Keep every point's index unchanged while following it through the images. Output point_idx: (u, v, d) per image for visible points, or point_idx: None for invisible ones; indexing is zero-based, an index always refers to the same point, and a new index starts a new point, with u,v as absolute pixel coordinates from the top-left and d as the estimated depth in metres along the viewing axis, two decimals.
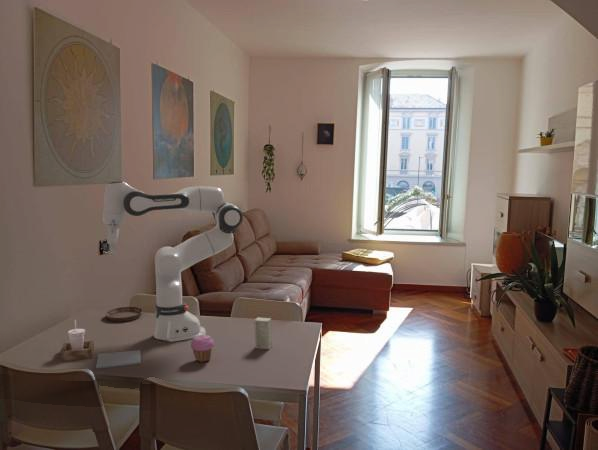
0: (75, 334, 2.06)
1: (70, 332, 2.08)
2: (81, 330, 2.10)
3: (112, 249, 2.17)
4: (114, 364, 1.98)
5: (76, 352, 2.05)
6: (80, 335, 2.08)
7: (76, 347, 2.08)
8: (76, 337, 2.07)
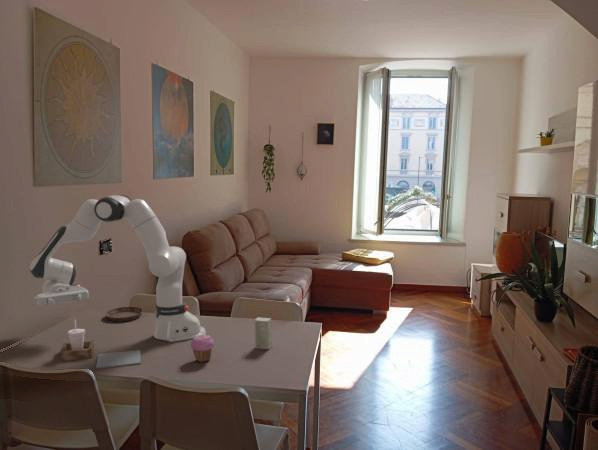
0: (75, 334, 2.06)
1: (70, 332, 2.08)
2: (81, 330, 2.10)
3: (51, 301, 2.16)
4: (114, 364, 1.98)
5: (76, 352, 2.05)
6: (80, 335, 2.08)
7: (76, 347, 2.08)
8: (76, 337, 2.07)
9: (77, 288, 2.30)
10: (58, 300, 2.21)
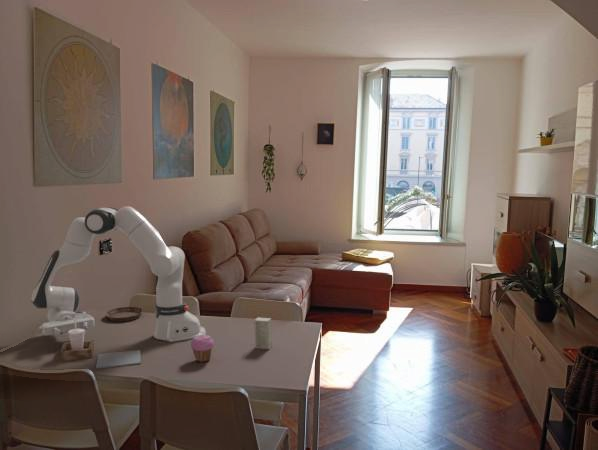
0: (75, 334, 2.06)
1: (70, 332, 2.08)
2: (81, 330, 2.10)
3: (57, 330, 2.12)
4: (114, 364, 1.98)
5: (76, 352, 2.05)
6: (80, 335, 2.08)
7: (76, 347, 2.08)
8: (76, 337, 2.07)
9: (83, 315, 2.26)
10: (64, 329, 2.17)
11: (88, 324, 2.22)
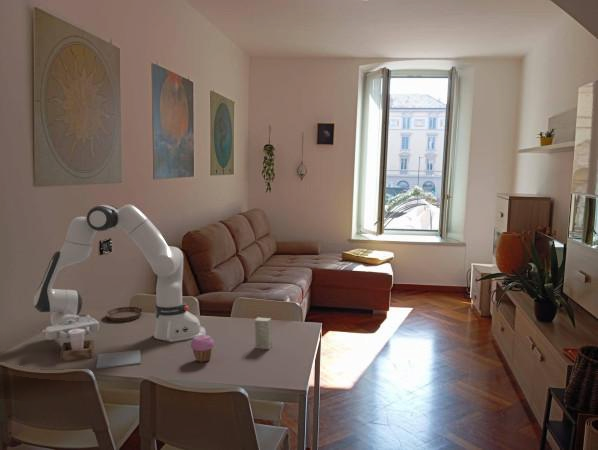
0: (75, 334, 2.06)
1: (70, 332, 2.08)
2: (81, 330, 2.10)
3: (63, 334, 2.07)
4: (114, 364, 1.98)
5: (76, 352, 2.05)
6: (80, 335, 2.08)
7: (76, 347, 2.08)
8: (76, 337, 2.07)
9: (87, 319, 2.21)
10: (68, 333, 2.12)
11: (92, 328, 2.17)
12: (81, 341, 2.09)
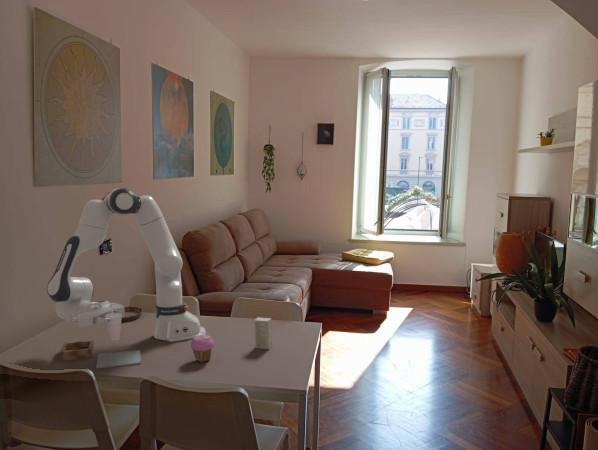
0: (116, 317, 2.00)
1: (109, 316, 2.00)
2: (117, 314, 2.04)
3: (102, 319, 1.99)
4: (114, 364, 1.98)
5: (76, 352, 2.05)
6: (120, 318, 2.02)
7: (116, 331, 2.02)
8: (117, 321, 2.01)
9: (108, 304, 2.13)
10: None
11: (120, 311, 2.11)
12: (120, 324, 2.03)
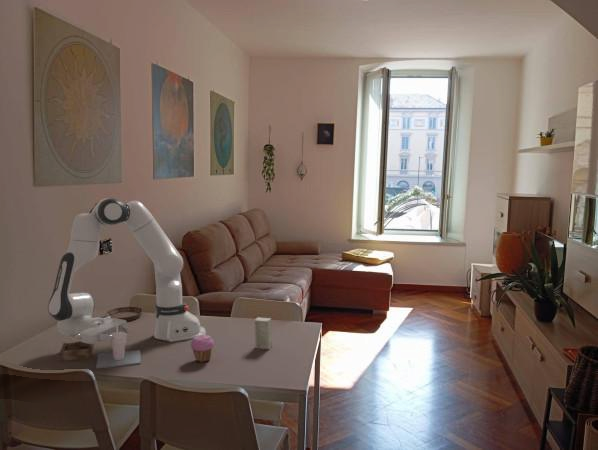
0: (122, 337, 2.01)
1: (114, 336, 2.01)
2: (122, 333, 2.05)
3: (105, 336, 1.99)
4: (114, 364, 1.98)
5: (76, 352, 2.05)
6: (125, 338, 2.03)
7: (121, 350, 2.03)
8: (122, 340, 2.02)
9: (111, 320, 2.13)
10: (104, 335, 2.03)
11: None
12: None
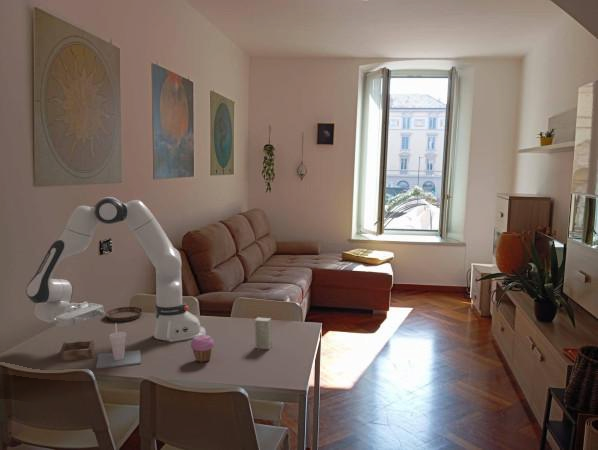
0: (121, 337, 2.01)
1: (113, 336, 2.01)
2: (121, 333, 2.05)
3: (80, 320, 2.03)
4: (114, 364, 1.98)
5: (76, 352, 2.05)
6: (124, 337, 2.03)
7: (121, 350, 2.03)
8: (121, 340, 2.02)
9: (87, 305, 2.18)
10: None
11: None
12: (124, 344, 2.04)
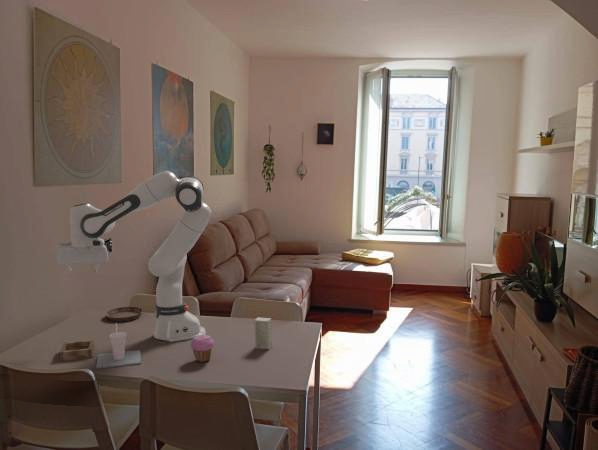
0: (121, 337, 2.01)
1: (114, 336, 2.01)
2: (121, 333, 2.05)
3: (69, 270, 2.22)
4: (114, 364, 1.98)
5: (76, 352, 2.05)
6: (125, 337, 2.03)
7: (121, 350, 2.03)
8: (122, 340, 2.02)
9: (99, 249, 2.23)
10: None
11: None
12: (124, 344, 2.04)
